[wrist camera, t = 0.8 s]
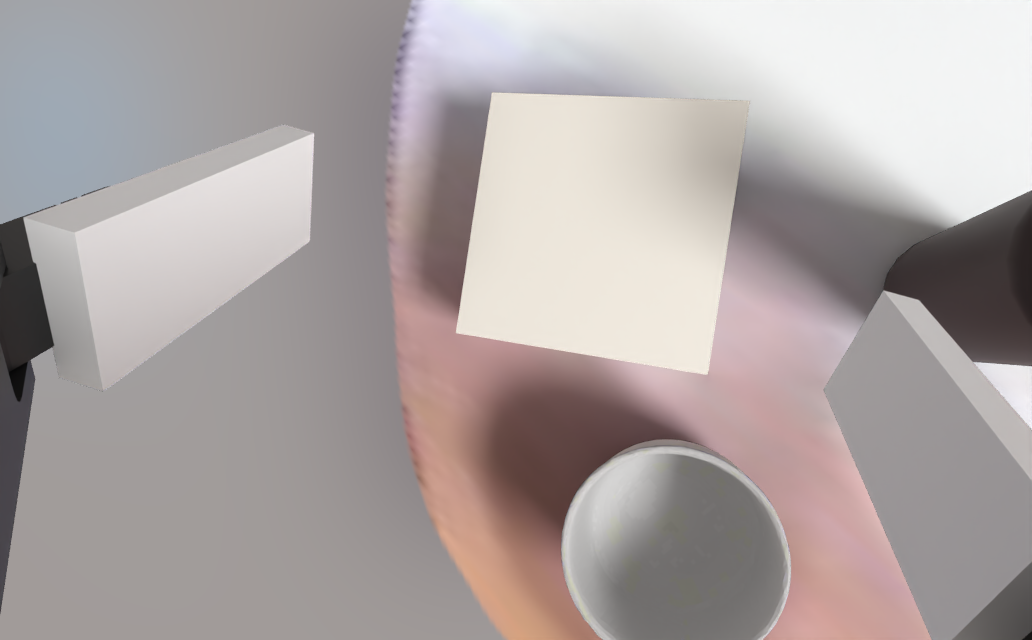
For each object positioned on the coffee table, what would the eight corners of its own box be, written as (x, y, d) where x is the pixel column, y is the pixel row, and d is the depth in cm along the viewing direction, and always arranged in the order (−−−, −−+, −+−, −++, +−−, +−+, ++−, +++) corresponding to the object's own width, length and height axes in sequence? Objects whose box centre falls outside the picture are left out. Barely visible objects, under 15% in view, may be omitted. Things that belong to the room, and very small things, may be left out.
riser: (522, 127, 40) (491, 92, 34) (742, 139, 36) (749, 100, 30) (491, 334, 40) (455, 332, 35) (707, 369, 36) (707, 375, 30)
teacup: (564, 457, 39) (529, 486, 31) (729, 400, 36) (736, 417, 28) (645, 676, 37) (630, 764, 29) (828, 635, 34) (864, 720, 26)
